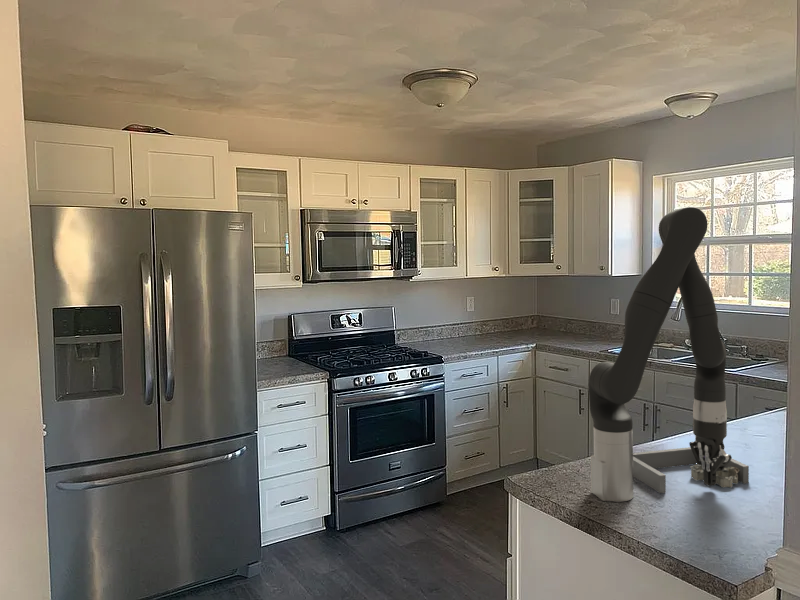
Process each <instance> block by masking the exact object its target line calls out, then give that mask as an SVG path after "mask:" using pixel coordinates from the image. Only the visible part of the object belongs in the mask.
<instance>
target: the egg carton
mask: <svg viewBox="0 0 800 600" xmlns="http://www.w3.org/2000/svg"><path fill="white" fill-rule="evenodd" d="M690 468H691V469H690V472H691V473H690V474H691V475H690V476H691V477H690V478H692V477H693V478H692V480H693V481H703V480H704V479H703V477H704V476H703V469H702V466H701V465H698V464H694V465H690ZM738 472H739V468H736V467H732V466H731V467H727V468H724V469H723V470H722V471H716V484H715V485H719V487H720V486H721V487H720V488H732V487H733V484H732V483H735V485H738V483H739V481H738V475H737V473H738Z"/></svg>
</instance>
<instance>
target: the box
mask: <svg viewBox="0 0 800 600" xmlns="http://www.w3.org/2000/svg"><path fill="white" fill-rule="evenodd" d="M696 463H697V461H696V459H695V457H694V454H693V452H692V450H691V447H690V446H689V447H680V448H670V449H661V450H660V449H659V450H650V451H638V452H633V478H635V479H637V480H638V481H640V482H642V483H643V484H645V485H646V484H647V486H648V487H650V489H651V488H652V489H653V490H655V492H657V491H658V492H657V493H659V494H665V492H666V491H667V489H666V487H667V486H666V483H667V482H666V478H667V477H666V474H665V473H662V471H661V472H660V471H659V470H657V469H661V468H662V469H663V468H664V467H665V468H673V467H672V466H675V467H682V466H681V465H684V466H690V465H689V464H694V465H696ZM731 466H732V467H736V468H739V472H738V473H737V475H738V483H741V484H743V485H746V484H749V480H750V478H749V477H750V475H749V474H750V473H749V470H750V469H749V465H747V464H745V463H742V461H741V462H740V461H738V460H736V459H734V458H732V459H731V460H730V462H729V463H728V464H727V465H726V467H725V468H727V467H731ZM665 468H664V469H665Z"/></svg>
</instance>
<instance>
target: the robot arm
mask: <svg viewBox="0 0 800 600" xmlns="http://www.w3.org/2000/svg"><path fill="white" fill-rule="evenodd" d="M658 224H659V225H658V234H659V235H658V236H659V237H660V241H661V243H662V246H661V249H660V252H659V254H658V255H657V257H656V259H655V260H654V262H653V263H652V264H651V266H649V268H648V269H647V271H646V272H645V273H644V275H643V276H642V277H640V280H639V281H638V283H637V285H636V287H635V288H634V290H633V291H632V295H631V297H630V299H629V302H628V303H627V307H626V308H625V309H626V310H625V314H624V336H623V337H624V338H623V343H622V346H621V349H620V351H619V353H618V355H617V358H616V360H615V361H614V362H611V361H602V362H599V363H598V364H596V365H595V366H593V368H592V369H591V371H590V374H589V377H588V378H589V379H588V400H589V401H588V402H589V412H590V416H591V418H592V421H593V423H592V424H593V454H592V455H590V493H592V494H593V495H594V496H596V497H598V499H599V500H601V501H603V502H605V501H608V502H617V503H618V502H621V503H622V502H627V501H630V500H632V499H633V498H634V476H633V453H634V440H633V439H634V438H633V436H634V433H633V432H634V431H633V429H634V427H633V425H634V424H633V418H632V416H631V414H630V413H629V411H628V410H627V408H626V406H625V404H628V403H629V402H630V401H631V400H632V399H633V398H634V397H635V396H636V394H637V393H638V390H639V388H640V385H641V383H642V379H643V375H644V373H645V370H646V366H647V363H648V361H649V358H650V355H651V352H652V349H653V347H654V346H655V342H656V340H657V337H658V336H659V333H660V332H661V328H662V326H663V325H664V322H665V320H666V318H667V316H668V315H669V314H668V313H669V310H670V309H671V306H672V305H673V302H674V299H675V297H676V294H677V292H678V290H679V293H680V298H681V302H682V307H683V311H684V315H685V319H686V323H687V325H688V330H689V339H690V345H691V353H692V356H693V359H694V361H695V378H694V381H693V382H694V383H693V388H694V389H693V406H692V433H693V435H694V436H695V435H696V441H695V440H694V441H690V442H688V443H689V447H691V450H692V452H693V454H694V457H695V459H696V461H697V464H698V465H701V466H702V469H703V476H704V477H703V479H704V481H703V483H704V485H706V486H708V487H712V486H715V485H717V484H716V471H722V470H723V469H724V468H725V467H726V465H727V464H728V463H729V462H730V460H731V459H733V458H732V455H731V454H727V452H726V451H725V444H724V439H725V438H726V437H727V435H728V433H727V432H728V430H727V429H728V428H727V427H728V424H727V421H728V419H727V418H728V417H727V416H728V413H727V412H728V411H727V409H728V408H727V401H726V398H727V397H726V394H727V393H726V392H727V390H726V380H725V379H726V378H725V375H726V374H725V373H726V361H727V347H726V345H725V343H724V342H723V340H722V338H721V337H722V336H721V334H720V330H719V325H718V324H719V319H718V311H717V308H716V304H715V303H716V302H715V298H714V295H713V292H712V290H711V287H710V285H709V283H708V281H707V279H706V278H705V276H704V274H703V272H702V271H701V269H700V266H699V264H698V261H697V258H696V255H695V253H696V252H697V250H698V248H699V247H700V245H701V243H702V241H703V240H704V238H705V236H706V233H707V232H708V231H707V230H708V219H707V216H706V214H705V212H704V211H703V210H701V209H700V208H698V207H696V206H685V207H681V208H678V209H676V210H673V211H670V212H669V213H667V214H665V215H664V216H663V217H662V218H661V219H660V221H659V223H658Z"/></svg>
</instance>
